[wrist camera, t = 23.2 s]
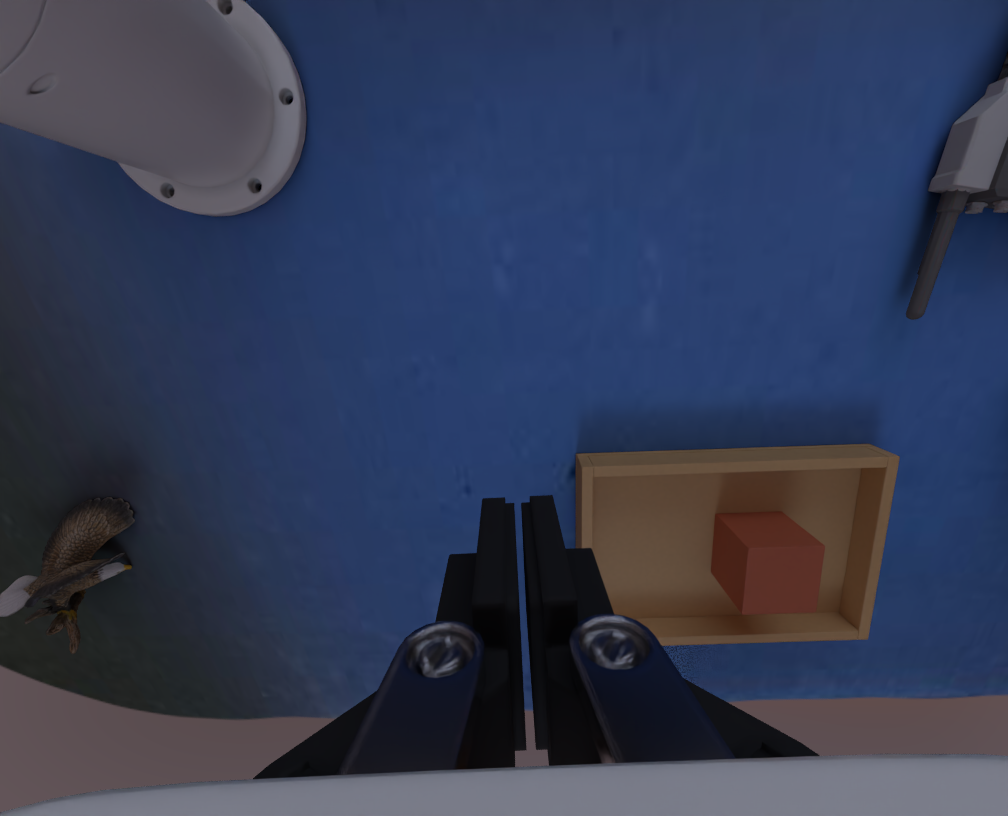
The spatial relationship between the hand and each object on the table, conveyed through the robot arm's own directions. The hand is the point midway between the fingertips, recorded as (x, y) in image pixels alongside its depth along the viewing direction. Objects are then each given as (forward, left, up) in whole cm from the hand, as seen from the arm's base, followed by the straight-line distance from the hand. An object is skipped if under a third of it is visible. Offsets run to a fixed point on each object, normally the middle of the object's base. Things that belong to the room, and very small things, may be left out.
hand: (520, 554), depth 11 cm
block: (+17, -13, -22) cm, 31 cm away
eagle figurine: (-32, -12, -23) cm, 41 cm away
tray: (+15, -13, -23) cm, 31 cm away
